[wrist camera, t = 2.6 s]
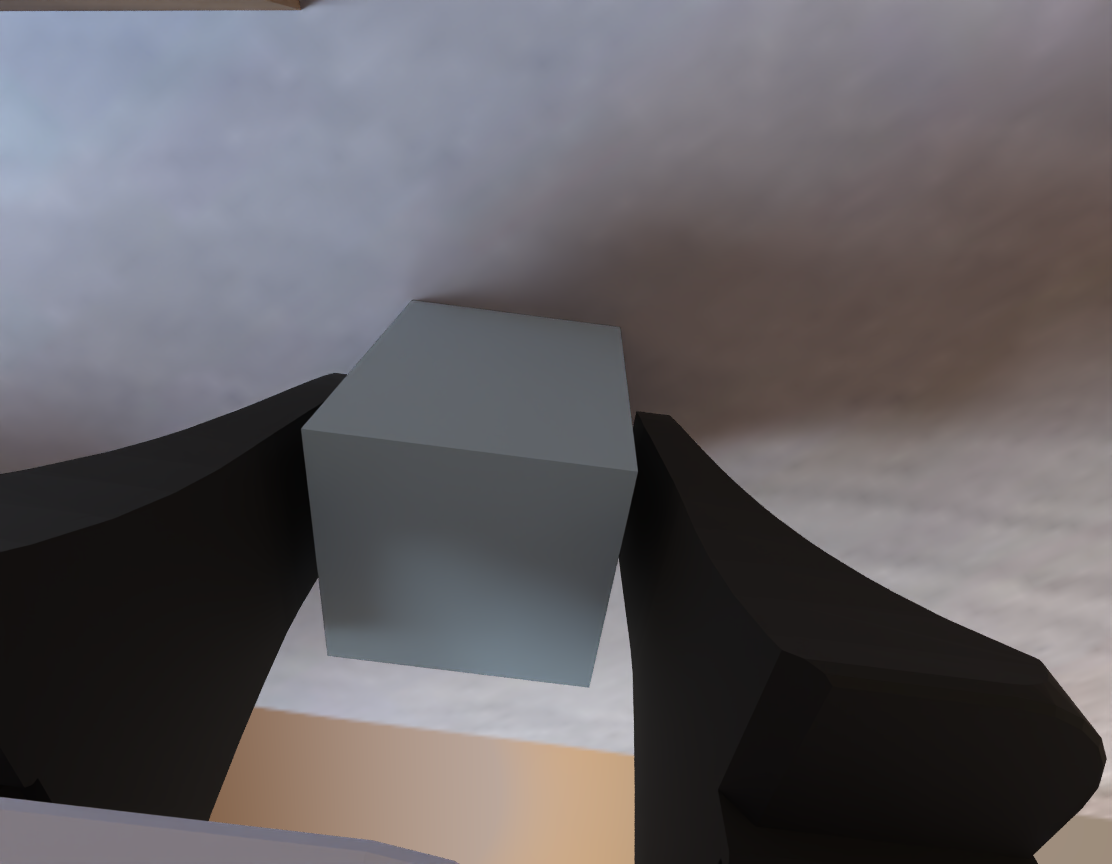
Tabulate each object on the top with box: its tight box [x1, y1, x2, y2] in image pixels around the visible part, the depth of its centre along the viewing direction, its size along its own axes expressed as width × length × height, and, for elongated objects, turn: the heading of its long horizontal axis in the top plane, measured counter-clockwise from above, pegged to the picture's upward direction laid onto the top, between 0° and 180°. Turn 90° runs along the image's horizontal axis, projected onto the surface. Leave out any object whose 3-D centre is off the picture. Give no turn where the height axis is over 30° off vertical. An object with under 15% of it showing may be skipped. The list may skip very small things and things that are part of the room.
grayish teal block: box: [301, 300, 638, 687], centre depth 10 cm, size 4×4×5 cm
